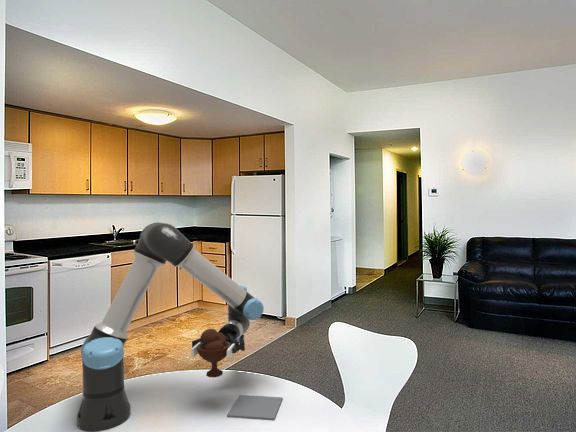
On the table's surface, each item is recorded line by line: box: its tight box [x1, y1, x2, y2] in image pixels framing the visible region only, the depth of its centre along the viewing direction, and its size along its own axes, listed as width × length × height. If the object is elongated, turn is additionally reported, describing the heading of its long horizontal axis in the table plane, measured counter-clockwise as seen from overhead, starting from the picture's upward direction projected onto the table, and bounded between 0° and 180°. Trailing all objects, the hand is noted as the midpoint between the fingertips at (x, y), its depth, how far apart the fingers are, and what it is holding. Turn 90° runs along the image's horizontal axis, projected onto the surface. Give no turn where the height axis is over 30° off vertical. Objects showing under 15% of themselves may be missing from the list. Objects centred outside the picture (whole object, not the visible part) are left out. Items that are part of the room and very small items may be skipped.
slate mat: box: [226, 394, 284, 421], centre depth 130 cm, size 15×14×1 cm
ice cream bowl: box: [197, 328, 230, 378], centre depth 132 cm, size 11×11×15 cm
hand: (210, 353), depth 128 cm, fingers closed on ice cream bowl, 11 cm apart
